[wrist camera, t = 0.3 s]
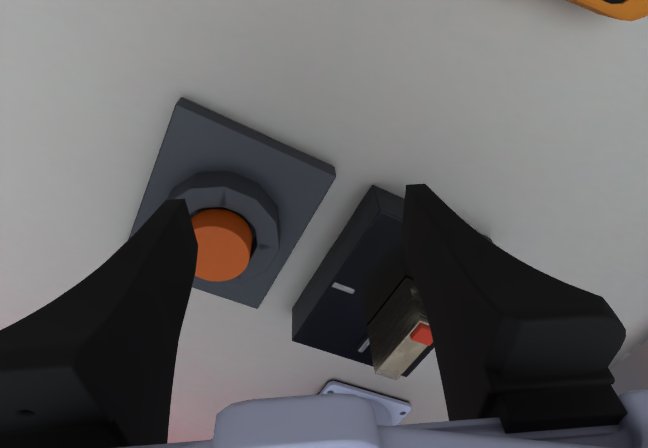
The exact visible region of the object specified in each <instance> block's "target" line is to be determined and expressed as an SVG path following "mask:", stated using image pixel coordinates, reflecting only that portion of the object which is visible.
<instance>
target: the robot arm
mask: <svg viewBox="0 0 648 448" xmlns="http://www.w3.org/2000/svg"><path fill="white" fill-rule="evenodd" d="M401 234H402V239H403V244H404V249H405V254H406V258H407V261H408V264H409V267H410V270H411V273H412V276H413V278H414V281H415V284H416V287H417V290H418V292H419V295H420V298H421V301H422V304H423V307H424V309H425V312H426V315H427V319H428V322H429V326H430V330H431V334H432V339H433V343H434V347H435V352H436V356H437V361H438V366H439V370H440V375H441V380H442V385H443V390H444V395H445V400H446V405H447V411H448V417H449V421H445V422H433V423H420V424H407V425H397V424H398V423H399V422H400V421H401V420H402V419H403V418H404V417H405V416H406V415H407V414H408V413H409V412H410V411H411V410H412V407H411V404H409V403H407V402H403V401H400V400H397V399H393V398H390V397H387V396H383V395H380V394H377V393H373V392H370V391H366V390H363V389H360V388H356V387H353V386H350V385H346V384H343V383H340V382H336V381H331V382H329V383H327V385H326V386H325V387H324V388H323V390H322V391H321V392H320V394H319V395H307V396H293V397H280V398H267V399H254V400H246V401H242V402H237V403H233V404H231V405H229V406H228V407H226V408H225V409H223V410H222V411H221V412H219V413H218V414H217V416H216V422H215V429H214V437H213V439H211V440H205V441H192V442H180V443H167V439H168V425H169V415H170V404H171V394H172V386H173V377H174V369H175V362H176V354H177V347H178V341H179V336H180V331H181V327H182V323H183V319H184V315H185V311H186V308H187V304H188V300H189V296H190V292H191V288H192V284H193V280H194V276H195V272H196V264H197V255H198V242H197V239H196V235H195V232H194V228H193V225H192V221H191V218H190V214H189V211H188V207H187V204H186V200H185V199H169V200H165V201H164V202H163V203H162V204H161V206H160V207H159V208H158V209H157V210H156V211H155V212H154V213H153V214H152V215H151V217H150V218H149V219H148V220H147V221H146V222H145V223H144V224H143V225H142V226H141V228H140V229H139V230H138V231H137V232H136V233H135V234H134V235H133V236H132V237H131V238H130V239H129V240H128V241H127V242H126V243H125V244H124V245H123V246H122V247H121V248H120V249H119V250H118V251H117V252H116V253H115V254H114V255H112V256H111V257H110V258H109V259H108V260H107V261H106V262H105V263H104V264H102V265H101V266H100V267H99V268H98V269H97V270H95V271H94V272H93V273H92V274H90V275H89V276H88V277H86V278H85V279H84V280H83V281H81V282H80V283H78V284H77V285H76V286H74V287H73V288H71V289H70V290H68V291H67V292H65V293H64V294H62V295H61V296H60V297H58V298H57V299H55V300H54V301H52V302H51V303H49V304H47V305H46V306H44V307H42V308H41V309H39V310H37V311H36V312H34V313H32V314H30V315H29V316H27V317H25V318H23V319H21V320H20V321H18V322H16V323H14V324H12V325H10V326H8V327H6V328H4V329H2V330H0V448H648V390H636V391H630V392H626V393H623V394H621V395H619V396H617V394H616V393H615V391H614V390H613V388H612V386H611V384H613V383H614V382H615V380H614V377H613V375H612V374H611V372H610V370H609V369H608V366H609V364H610V363H611V361H612V360H613V358H614V357H615V355H616V354H617V352H618V351H619V350H620V348H621V346H622V344H623V342H624V340H625V337H626V329H625V328H624V326H623V324H622V323H621V321H620V320H619V318H618V317H617V316H616V314H615V313H614V311H613V310H612V309H611V307H610V306H609V305H608V303H607V302H606V301H605V300H604V299H603V297H601V296H598V295H595V294H593V293H590V292H588V291H585V290H582V289H580V288H577V287H574V286H572V285H569V284H567V283H564V282H562V281H560V280H558V279H555V278H553V277H551V276H549V275H547V274H545V273H543V272H541V271H539V270H537V269H535V268H533V267H531V266H529V265H527V264H526V263H524V262H522V261H520V260H518V259H517V258H515V257H513V256H512V255H510V254H508V253H507V252H505V251H504V250H502V249H501V248H499V247H498V246H496V245H495V244H493V243H492V242H490V241H489V240H487V239H486V238H485V237H483V236H482V235H481V234H480V233H478V232H477V231H476V230H474V229H473V228H472V227H471V226H469V225H468V224H467V223H466V222H465V221H464V220H462V219H461V218H460V217H459V216H458V215H457V214H456V213H455V212H453V211H452V210H451V209H450V208H449V207H448V206H447V205H446V204H445V203H444V202H443V201H442V200H441V199H440V198H439V197H438V196H437V195H436V194H435V193H434V192H433V191H432V190H431V189H430V188H429V187H428V186H427V185H426V184H413V185H406V193H405V202H404V211H403V220H402V229H401Z"/></svg>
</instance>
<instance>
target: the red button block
mask: <svg viewBox="0 0 648 448" xmlns="http://www.w3.org/2000/svg"><path fill="white" fill-rule="evenodd" d="M367 331H368V337H369V342H370V348H371V354H372V359H373V365H374V371H375V373H376V374H379V375H382V376H385V377H388V378H392V379H395V380H397V379H398V378H399V377H400V376H401V375H402V373H403V372H404V371H405V370H406V369H407V368H408V367H409V366H410V365H411V364H412V363H413V361H414V360H415V359H416V358H417V357H418V356H419V355H420V354H421V353H422V352H423V350H424V349H425V348H426V347H427V346H430V345H431V344H432V342H433V339H432V334H431V330H430V326H429V322H428V319H427V315H426V312H425V309H424V307H423V304H422V301H421V298H420V295H419V292H418V290H417V287H416V284H415V281H414V280H413V279H410V278H408V277H406V278H405V279H404V280H403V282H402V283H401V284H400V285H399V287H398V288H397V289H396V290H395V292H394V293H393V294H392V296H391V297H390V298H389V299H388V301H387V302H386V303H385V304H384V306H383V307H382V308H381V310H380V311H379V312H378V313H377V315H376V316H375V317H374V318H373V320H372V321H371V322H370V324H369V325H368V326H367Z"/></svg>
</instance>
